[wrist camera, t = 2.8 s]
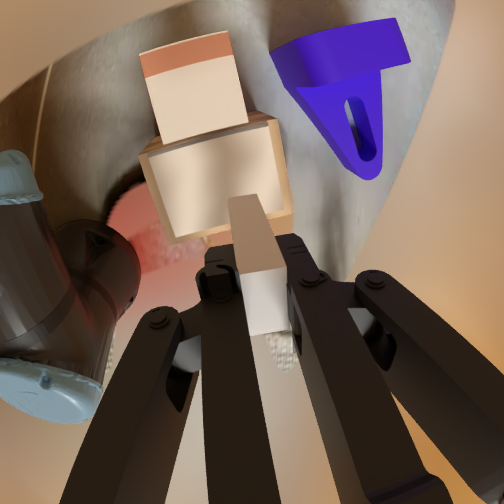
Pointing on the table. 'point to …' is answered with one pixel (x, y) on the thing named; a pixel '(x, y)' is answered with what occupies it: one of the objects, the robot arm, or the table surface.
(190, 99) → the cream and orange panel
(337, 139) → the bracket
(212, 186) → the clamp block
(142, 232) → the table surface
